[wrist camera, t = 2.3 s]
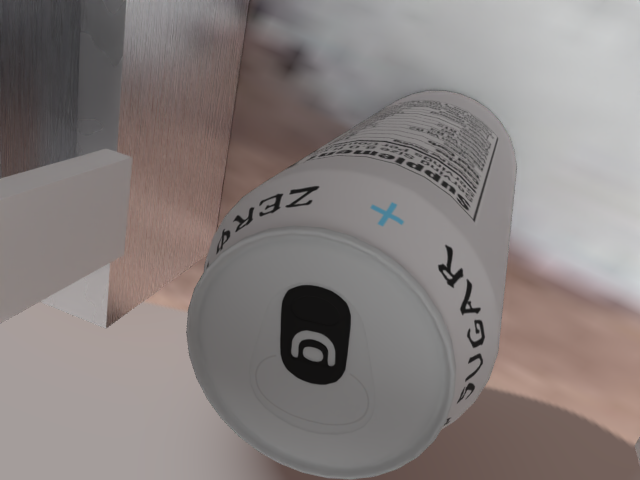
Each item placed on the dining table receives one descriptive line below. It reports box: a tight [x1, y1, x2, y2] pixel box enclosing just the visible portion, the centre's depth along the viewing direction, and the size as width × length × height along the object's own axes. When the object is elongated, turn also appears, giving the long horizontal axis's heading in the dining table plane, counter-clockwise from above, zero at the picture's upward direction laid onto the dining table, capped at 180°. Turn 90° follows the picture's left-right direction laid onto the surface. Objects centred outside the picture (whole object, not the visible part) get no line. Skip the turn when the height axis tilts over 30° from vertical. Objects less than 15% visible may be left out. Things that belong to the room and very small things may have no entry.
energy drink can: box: [186, 91, 517, 479], centre depth 17 cm, size 6×6×15 cm
